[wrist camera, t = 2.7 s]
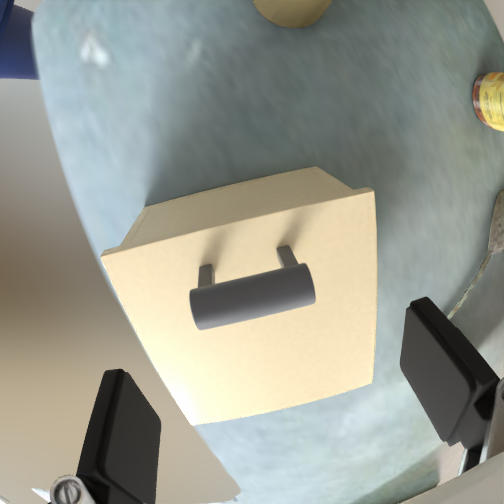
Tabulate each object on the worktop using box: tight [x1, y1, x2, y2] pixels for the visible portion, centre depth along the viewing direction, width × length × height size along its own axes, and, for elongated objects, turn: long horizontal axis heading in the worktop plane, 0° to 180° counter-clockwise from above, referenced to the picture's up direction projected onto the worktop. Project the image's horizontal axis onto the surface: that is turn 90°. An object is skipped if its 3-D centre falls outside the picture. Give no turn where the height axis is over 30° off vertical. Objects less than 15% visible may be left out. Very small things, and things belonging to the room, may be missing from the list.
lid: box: [100, 187, 378, 425], centre depth 17 cm, size 15×15×5 cm
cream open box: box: [120, 166, 352, 246], centre depth 24 cm, size 15×15×10 cm
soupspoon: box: [447, 189, 504, 320], centre depth 31 cm, size 22×3×7 cm
